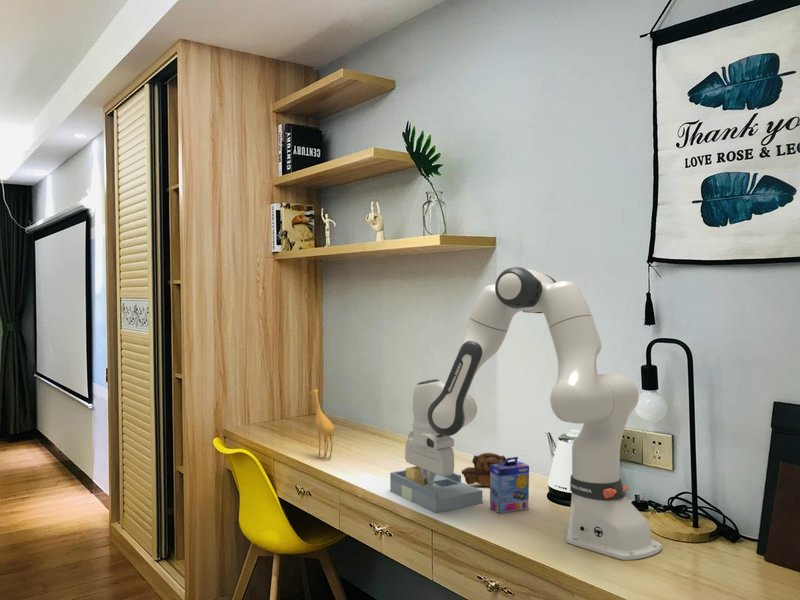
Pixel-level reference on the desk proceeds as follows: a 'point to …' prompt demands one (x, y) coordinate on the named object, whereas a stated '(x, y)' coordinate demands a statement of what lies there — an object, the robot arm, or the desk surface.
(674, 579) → the desk surface
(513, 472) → the ink cartridge box
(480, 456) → the wooden carving
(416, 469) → the block
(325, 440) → the giraffe
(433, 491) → the tray
